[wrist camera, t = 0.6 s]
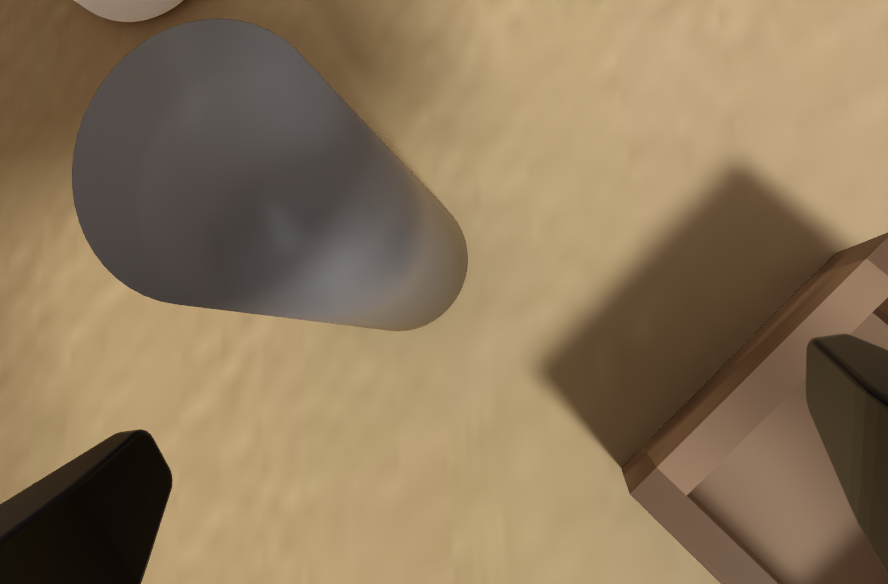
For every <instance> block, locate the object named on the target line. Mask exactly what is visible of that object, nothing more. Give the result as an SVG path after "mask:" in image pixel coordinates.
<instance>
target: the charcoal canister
mask: <svg viewBox="0 0 888 584" xmlns="http://www.w3.org/2000/svg"><path fill="white" fill-rule="evenodd" d="M72 188H73V196H74V203H75V208H76V212H77V216H78V220H79V223H80V225H81V228H82V230H83V233H84V235H85V238H86V239H87V241H88V243H89V245H90V247H91V248H92V250H93V252H94V253H95V255H96V256H97V257H98V259H99V260H100V261H101V263H102V264H103V265H104V266H105V267H106V268H107V269H108V270H109V271H110V272H111V273H112V274H113V275H114V276H115V277H116V278H117V279H118V280H120V281H121V282H122V283H124V284H125V285H126V286H128V287H129V288H131V289H133V290H135V291H137V292H139V293H140V294H142V295H144V296H147V297H150V298H153V299H155V300H158V301H162V302H167V303H172V304H178V305H186V306H194V307H202V308H210V309H219V310H227V311H235V312H243V313H251V314H259V315H267V316H275V317H284V318H292V319H300V320H308V321H316V322H324V323H332V324H341V325H349V326H357V327H365V328H373V329H381V330H389V331H405V330H411V329H416V328H419V327H422V326H424V325H427V324H428V323H430V322H432V321H434V320H435V319H437V318H438V317H440V316H441V315H442V314H443V313H444V312H445V311H446V310H447V309H448V308H449V307H450V306H451V305H452V303H453V302H454V301H455V299H456V298H457V296H458V295H459V293H460V290H461V288H462V286H463V283H464V280H465V277H466V272H467V264H468V254H467V246H466V242H465V238H464V235H463V233H462V230H461V228H460V226H459V224H458V223H457V221H456V220H455V219H454V217H453V216H452V215H451V214H450V213H449V211H448V210H447V209H446V208H445V207H444V206H443V205H442V204H441V203H440V202H439V201H438V200H437V199H436V198H435V197H434V196H433V194H432V193H431V192H430V191H429V190H428V189H427V188H426V187H425V186H424V185H423V184H422V183H421V182H420V181H419V180H418V179H417V177H416V176H415V175H414V174H413V173H412V172H411V171H410V170H409V169H408V168H407V167H406V166H405V165H404V164H403V163H402V161H401V160H400V159H399V158H398V157H397V156H396V155H395V154H394V153H393V152H392V151H391V150H390V149H389V148H388V147H387V146H386V144H385V143H384V142H383V141H382V140H381V139H380V138H379V137H378V136H377V135H376V134H375V133H374V132H373V131H372V130H371V129H370V127H369V126H368V125H367V124H366V123H365V122H364V121H363V120H362V119H361V118H360V117H359V116H358V115H357V114H356V113H355V112H354V110H353V109H352V108H351V107H350V106H349V105H348V104H347V103H346V102H345V101H344V100H343V99H342V98H341V97H340V96H339V95H338V93H337V92H336V91H335V90H334V89H333V88H332V87H331V86H330V85H329V84H328V83H327V82H326V81H325V80H324V79H323V78H322V76H321V75H320V74H319V73H318V72H317V71H316V70H315V69H314V68H313V67H312V66H311V65H310V64H309V63H308V62H307V61H306V59H305V58H304V57H303V56H302V55H301V54H300V53H299V52H298V51H297V50H296V49H295V48H294V47H293V46H291V45H290V44H289V43H287V42H286V41H285V40H284V39H282V38H281V37H279V36H277V35H276V34H274V33H272V32H270V31H269V30H267V29H264V28H262V27H259V26H256V25H254V24H251V23H246V22H242V21H238V20H229V19H204V20H197V21H192V22H187V23H183V24H180V25H178V26H175V27H172V28H169V29H167V30H165V31H162V32H160V33H158V34H156V35H154V36H152V37H151V38H149V39H148V40H146V41H145V42H143V43H142V44H140V45H138V46H137V47H136V48H135V49H133V50H132V51H131V52H130V53H129V54H127V55H126V56H125V57H124V58H123V59H122V60H121V61H120V62H119V63H118V64H117V65H116V66H115V67H114V68H113V69H112V70H111V72H110V73H109V74H108V76H107V77H106V78H105V80H104V81H103V82H102V84H101V85H100V87H99V88H98V90H97V92H96V93H95V95H94V96H93V98H92V100H91V102H90V104H89V106H88V108H87V110H86V113H85V115H84V117H83V120H82V123H81V126H80V129H79V132H78V135H77V140H76V145H75V149H74V156H73V166H72Z"/></svg>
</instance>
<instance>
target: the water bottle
mask: <svg viewBox="0 0 888 584" xmlns="http://www.w3.org/2000/svg"><path fill="white" fill-rule="evenodd" d="M74 1H75V2H77V3H78V4H79V5H81V6H82V7H84V8H85V9H87V10H89V11H91V12H92V13H94V14H96V15H98V16H100V17H103V18H106V19H109V20H113V21H119V22H137V21H143V20H148V19H151V18H154V17H157V16H159V15H161V14H164V13H166V12H167V11H169V10H171V9H173V8H174V7H176V6H177V5H178V4H180V3H181V2H182V1H183V0H74Z"/></svg>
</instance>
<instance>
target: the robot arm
mask: <svg viewBox="0 0 888 584" xmlns="http://www.w3.org/2000/svg"><path fill="white" fill-rule="evenodd" d="M806 399H807V404H808V408H809V411H810V414H811V417H812V419H813V421H814V423H815V426H816V428H817V430H818V433H819V435H820V437H821V440H822V442H823V444H824V447H825V449H826V451H827V454H828V456H829V458H830V461H831V463H832V465H833V467H834V470H835V472H836V474H837V477H838V479H839V481H840V484H841V486H842V488H843V491H844V493H845V495H846V498H847V500H848V502H849V505H850V507H851V509H852V511H853V513H854V515H855V518H856V520H857V522H858V524H859V526H860V528H861V529H862V531H863V533H864V535H865V537H866V539H867V540H868V542H869V544H870V546H871V547H872V549H873V551H874V553H875V554H876V556H877V558H878V559H879V561H880V563H881V565H882V566H883V568H884V570H885V572H886V573H887V575H888V350H887V349H884V348H882V347H879V346H877V345H875V344H872V343H870V342H867V341H865V340H862V339H860V338H857V337H855V336H852V335H849V334H835V335H828V336H821V337H815V338H812V339H811V340H810V341H809V342H808V345H807V350H806ZM171 488H172V474H171V470H170V468H169V466H168V464H167V463H166V461H165V459H164V457H163V455H162V453H161V452H160V450H159V448H158V446H157V444H156V442H155V440H154V439H153V437H152V436H151V434H150V433H148V432H147V431H145V430H141V429H140V430H132V431H125V432H119V433H116V434H114V435H112V436H111V437H109V438H108V439H106V440H104V441H103V442H101V443H99V444H98V445H96V446H95V447H93V448H91V449H90V450H88V451H86V452H85V453H83V454H82V455H80V456H78V457H77V458H75V459H73V460H72V461H70V462H69V463H67V464H65V465H64V466H62V467H60V468H59V469H57V470H56V471H54V472H52V473H51V474H49V475H47V476H46V477H44V478H43V479H41V480H39V481H38V482H36V483H34V484H33V485H31V486H30V487H28V488H26V489H25V490H23V491H21V492H20V493H18V494H17V495H15V496H13V497H12V498H10V499H8V500H7V501H5V502H4V503H2V504H0V584H141V582H142V579H143V576H144V573H145V570H146V567H147V564H148V561H149V558H150V555H151V552H152V548H153V545H154V542H155V539H156V536H157V533H158V530H159V526H160V523H161V520H162V517H163V514H164V511H165V508H166V504H167V501H168V498H169V495H170V492H171Z"/></svg>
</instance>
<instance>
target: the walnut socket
mask: <svg viewBox="0 0 888 584" xmlns="http://www.w3.org/2000/svg"><path fill="white" fill-rule="evenodd" d="M835 334H849V335H852V336H855V337H857V338H860V339H862V340H865V341H867V342H870V343H872V344H875V345H877V346H879V347H882V348H884V349H887V350H888V233H886V234H883V235H881V236H878V237H876V238H873V239H871V240H868V241H866V242H863V243H861V244H858V245H856V246H853V247H851V248H848V249H846V250H843V251H841V252H838V253H836V254H835V255H834V256H833V257H832V258H831V259H830V260H829V261H828V262H827V263H826V264H825V265H824V266H823V267H822V268H821V269H820V270H819V271H818V272H817V273H816V274H815V275H814V276H813V277H812V278H811V279H810V280H809V281H808V282H807V283H806V284H805V285H804V286H803V287H802V288H801V289H800V290H799V291H798V292H797V293H796V294H795V295H794V296H793V297H792V298H791V299H790V300H789V301H788V302H787V303H786V304H785V305H784V306H783V307H782V308H781V309H780V310H779V311H778V312H777V313H776V314H775V315H774V316H773V317H772V318H771V319H770V320H769V321H768V322H767V323H766V324H765V325H764V326H763V327H762V328H761V329H760V330H759V331H758V332H757V333H756V334H755V335H754V336H753V337H752V338H751V339H750V340H749V341H748V342H747V343H746V344H745V345H744V346H743V347H742V348H741V349H740V350H739V351H738V352H737V353H736V354H735V355H734V356H733V357H732V358H731V359H730V360H729V361H728V362H727V363H726V364H725V365H724V366H723V367H722V368H721V369H720V370H719V371H718V372H717V373H716V374H715V375H714V376H713V377H712V378H711V379H710V380H709V381H708V382H707V383H706V384H705V385H704V386H703V387H702V388H701V389H700V390H699V391H698V392H697V393H696V394H695V395H694V396H693V397H692V398H691V399H690V400H689V401H688V402H687V403H686V404H685V405H684V406H683V407H682V408H681V409H680V410H679V411H678V412H677V413H676V414H675V415H674V416H673V417H672V418H671V419H670V420H669V421H668V422H667V423H666V424H665V425H664V426H663V427H662V428H661V429H660V430H659V431H658V432H657V433H656V434H655V435H654V436H653V437H652V438H651V439H650V440H649V441H648V442H647V443H646V444H645V445H644V446H643V447H642V448H641V449H640V450H639V451H638V452H637V453H636V454H635V455H634V456H633V457H632V458H631V459H630V460H629V461H628V462H627V463H626V464H625V465H624V466H623V467H622V468H621V469H622V472H623V475H624V478H625V481H626V484H627V487H628V490H629V493H630V495H631V496H632V497H633V498H634V499H635V500H637V501H638V502H639V503H640V504H641V505H642V506H643V507H644V508H645V509H646V510H647V511H648V512H649V513H650V514H651V515H652V516H653V517H654V518H655V519H656V520H657V521H658V522H659V523H660V524H661V525H662V526H663V527H664V528H665V529H666V530H667V531H668V532H669V533H670V534H671V535H672V536H673V537H674V538H675V539H676V540H677V541H678V542H679V543H680V544H681V545H682V546H683V547H684V548H685V549H686V550H687V551H688V552H689V553H690V554H691V555H692V556H694V557H695V558H696V559H697V560H698V561H699V562H700V563H701V564H702V565H703V566H704V567H705V568H706V569H707V570H708V571H709V572H710V573H711V574H712V575H713V576H714V577H715V578H716V579H717V580H718V581H719V582H720V583H721V584H888V575H887V573H886V572H885V570H884V568H883V566H882V565H881V563H880V561H879V559H878V558H877V556H876V554H875V553H874V551H873V549H872V547H871V546H870V544H869V542H868V540H867V539H866V537H865V535H864V533H863V531H862V529H861V528H860V526H859V524H858V522H857V520H856V518H855V515H854V513H853V511H852V509H851V507H850V505H849V502H848V500H847V498H846V495H845V493H844V491H843V488H842V486H841V484H840V481H839V479H838V477H837V474H836V472H835V470H834V467H833V465H832V463H831V461H830V458H829V456H828V454H827V451H826V449H825V447H824V444H823V442H822V440H821V437H820V435H819V433H818V430H817V428H816V426H815V423H814V421H813V419H812V417H811V414H810V411H809V408H808V404H807V399H806V350H807V345H808V342H809V341H810V340H811V339H812V338H815V337H821V336H828V335H835Z"/></svg>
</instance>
